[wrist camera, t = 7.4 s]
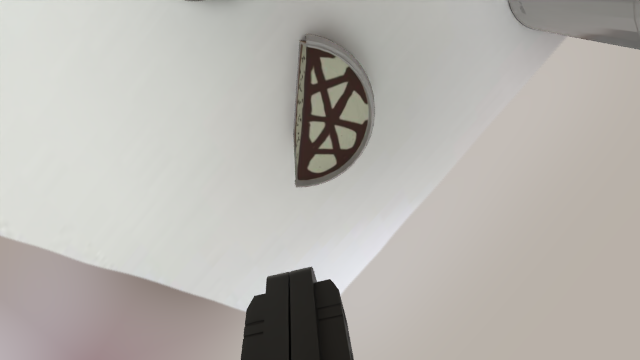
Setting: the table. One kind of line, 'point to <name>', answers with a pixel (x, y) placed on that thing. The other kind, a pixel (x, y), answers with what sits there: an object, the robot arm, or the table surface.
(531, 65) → the table surface
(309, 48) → the food container
